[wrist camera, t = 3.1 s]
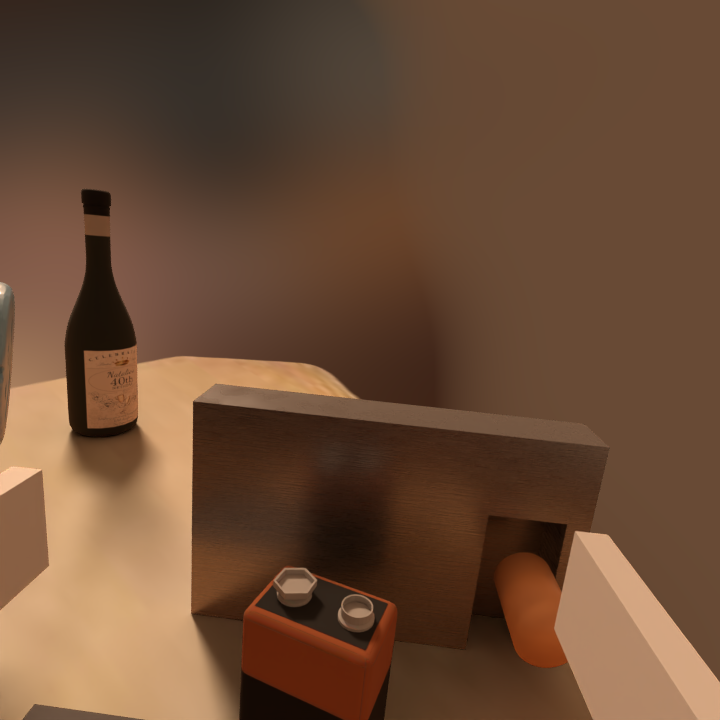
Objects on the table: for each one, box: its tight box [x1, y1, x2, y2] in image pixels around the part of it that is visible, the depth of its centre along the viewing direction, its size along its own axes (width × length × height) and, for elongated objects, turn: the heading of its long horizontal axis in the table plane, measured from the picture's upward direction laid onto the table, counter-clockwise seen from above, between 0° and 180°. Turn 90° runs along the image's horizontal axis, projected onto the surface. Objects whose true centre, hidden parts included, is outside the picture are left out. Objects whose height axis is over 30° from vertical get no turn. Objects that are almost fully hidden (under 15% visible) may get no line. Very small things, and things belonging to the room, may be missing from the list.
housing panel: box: [191, 384, 610, 649], centre depth 33 cm, size 26×4×16 cm, turn 86°
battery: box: [239, 566, 397, 720], centre depth 25 cm, size 4×7×10 cm, turn 68°
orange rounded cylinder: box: [494, 552, 568, 668], centre depth 28 cm, size 4×5×4 cm
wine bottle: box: [65, 189, 138, 436], centre depth 60 cm, size 8×8×30 cm
